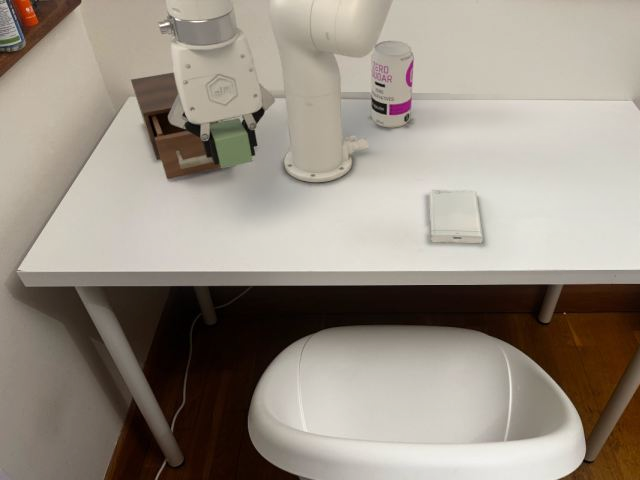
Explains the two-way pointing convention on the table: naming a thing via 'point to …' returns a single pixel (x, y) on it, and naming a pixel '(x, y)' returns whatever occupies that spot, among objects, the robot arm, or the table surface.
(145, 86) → the cabinet
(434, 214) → the hard drive
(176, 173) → the drawer
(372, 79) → the white soda can
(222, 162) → the block
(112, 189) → the table surface
